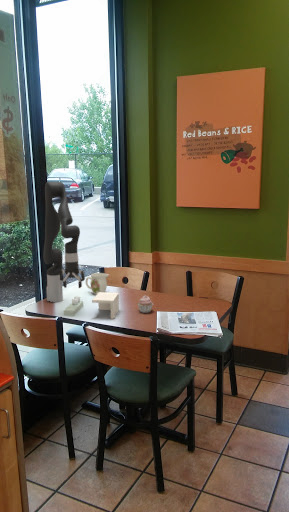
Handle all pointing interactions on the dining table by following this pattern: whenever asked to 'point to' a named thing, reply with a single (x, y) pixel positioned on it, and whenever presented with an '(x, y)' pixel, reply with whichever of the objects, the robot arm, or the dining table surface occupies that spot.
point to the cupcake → (145, 304)
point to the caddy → (74, 307)
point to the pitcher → (97, 282)
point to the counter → (107, 302)
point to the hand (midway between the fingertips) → (72, 287)
